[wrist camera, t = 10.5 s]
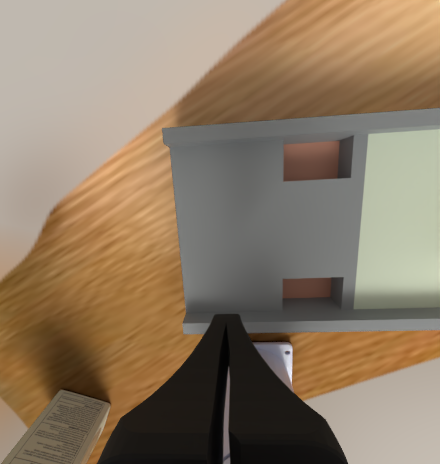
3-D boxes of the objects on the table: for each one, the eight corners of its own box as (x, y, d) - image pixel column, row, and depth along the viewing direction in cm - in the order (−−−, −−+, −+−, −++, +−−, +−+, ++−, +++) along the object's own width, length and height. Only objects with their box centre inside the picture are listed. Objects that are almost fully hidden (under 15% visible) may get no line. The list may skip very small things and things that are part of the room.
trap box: (474, 300, 20) (541, 332, 16) (192, 307, 22) (182, 338, 18) (514, 116, 17) (614, 92, 13) (176, 140, 18) (159, 126, 14)
